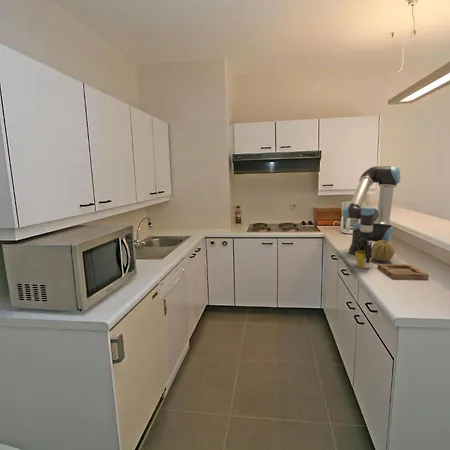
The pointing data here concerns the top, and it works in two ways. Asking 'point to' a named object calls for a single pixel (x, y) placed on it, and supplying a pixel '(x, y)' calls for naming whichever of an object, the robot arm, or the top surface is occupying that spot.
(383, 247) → the cantaloupe
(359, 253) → the plant pot
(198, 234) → the top surface
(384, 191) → the robot arm
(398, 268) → the walnut tray
